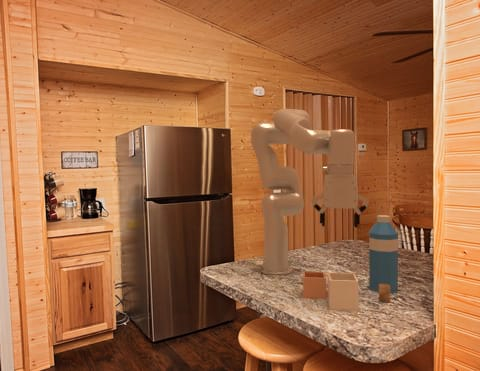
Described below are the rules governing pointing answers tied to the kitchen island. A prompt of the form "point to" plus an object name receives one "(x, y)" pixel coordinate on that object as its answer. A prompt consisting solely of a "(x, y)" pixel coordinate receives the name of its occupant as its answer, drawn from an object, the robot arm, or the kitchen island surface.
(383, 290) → the lid
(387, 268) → the water bottle
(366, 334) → the kitchen island surface
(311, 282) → the orange open box
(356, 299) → the cream open box
